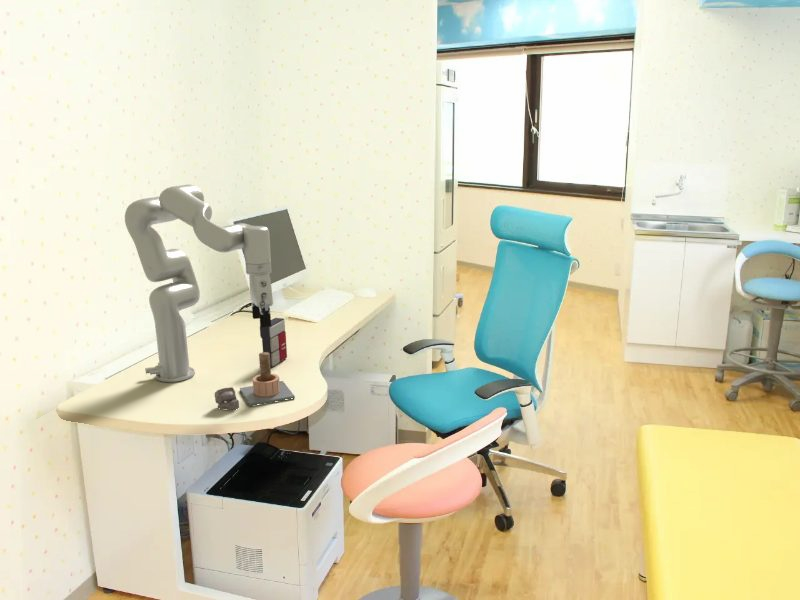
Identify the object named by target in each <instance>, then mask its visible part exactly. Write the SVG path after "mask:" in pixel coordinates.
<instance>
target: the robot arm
mask: <svg viewBox="0 0 800 600" xmlns="http://www.w3.org/2000/svg"><path fill="white" fill-rule="evenodd" d="M124 213H125V214H124V222H125V223H124V224H125V226H126V229H127V231H128V234H129V237H130V238H131V239H132V241H133V243H134V246H135V248H136V251H137V254H138V258H139V261H140V264H141V266H142V270H143V272H144V275H145V277H146V279H147V280H148V281H149V282H151V283H161V282H164V281H168V280H172V282H169V283H167V284H166V283H165V284H163V285H160V286H157V287H155V289H153V290H152V291H151V292H150V295H149V298H148V302H149V306H150V307H149V308H150V309H151V312H152V316H153V321H154V327H155V334H156V336H155V337H156V344H157V352H158V353H157V354H158V355H157V356H158V362H157V364H156V365H154V366H152V367H144V368H145V369H144V370H145V374H149V375H150V376H152V375H155V379H156V380H157V381H159V382H164V383H175V382H176V383H178V382H183V381H185V380H189V379H191V378H192V377H194V375H195V374H196V372H195V371H196V370H195V368H193V367H190V359H189V351H188V349H189V348H188V339H187V329H186V323H185V320H184V318H183V317H182V316H181V314H180V311H182V310H185V309H188V308H192V307H193V306H195V305H197V303H199V301H200V298H201V294H200V293H201V291H200V288H199V284H198V280H197V277H196V275H195V272H194V269H193V266H192V264H191V260H190V258H189V257H188V255H187V254H186V253H185V252H184V251H183V250H182V249H180V248H179V249H178V248H170V249H166V247H165V245H164V241H163V239H162V237H161V235H160V234H159V233H158V231H157V230H156V229H155V228H153V227H152V226H153V225H157V224H163V223H169V222H173V221H176V220H180V221H181V222H183V223H185V224H186V225H189V226H190V227H192V228H193V229H192V230H193V233H194V235H195V236H196V238H197V239H198V240H199V242H201V243H202V244H204V246H206V247H208V248H210V249H212V250H214V251H217V252H219V253H229V252H233V251H236V250H237V251H238V250H242V249H244V260H245V273H246V275H249V276H248V277H249V278H248V279H249V280H248V281H249V295H250V301H251V310H252V311H251V312H252V313H251V314H252V319H253V320H258V319H259V328H260V327H270V326H271V320H272V318H271V308H270V306H271V307H272V306H273V304H274V301H273V300H274V298H273V291H272V290H273V289H272V281H271V280H272V279H271V276H270V274H272V258H271V256H272V254H271V241H270V239H271V238H270V237H271V236H270V229H269V228H268V227H267V226H264V225H251V224H247V223H244V222H241V223H239V222H238V223H235V224H231V225H230V224H229V225H225V226H218V225H217V224H215V223H214V222H213V221H211V219H212V216H213V210H212V207H211V205H210V204H209V203H207V202H205V197H204V193H203V191H202V190H201V189H200V188H199V187H198V186H196V185H195V184H181V185H174V186H170V187H167V188H165V189H164V190H162V191H161V192H160V195H159V196H154V197H153V196H152V197H147V198H141V199H138V200H135V201H133V202H131V203H130V204H129V205H128V206H127V208H126V209H125V212H124Z"/></svg>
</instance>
